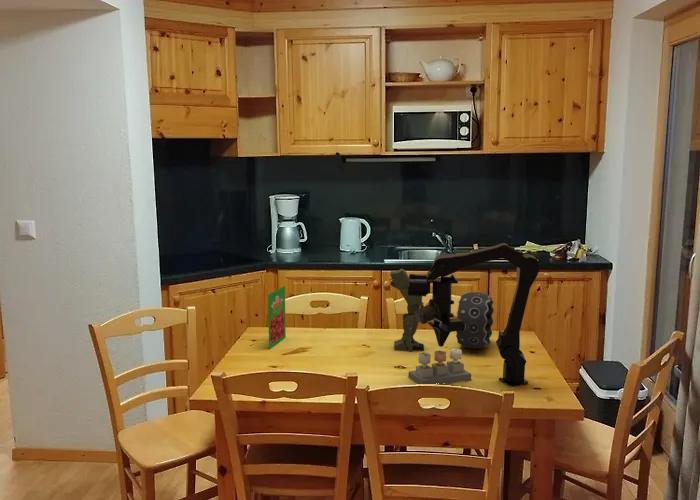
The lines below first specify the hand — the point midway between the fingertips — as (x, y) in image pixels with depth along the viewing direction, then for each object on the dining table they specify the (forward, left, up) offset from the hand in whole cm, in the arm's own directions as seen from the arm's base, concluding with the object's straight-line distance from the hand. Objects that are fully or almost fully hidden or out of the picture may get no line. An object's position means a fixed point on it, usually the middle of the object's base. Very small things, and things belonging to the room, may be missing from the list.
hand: (440, 346), depth 200 cm
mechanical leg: (+31, -4, -11) cm, 33 cm away
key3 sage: (0, +6, -7) cm, 9 cm away
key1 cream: (0, -5, -7) cm, 9 cm away
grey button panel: (0, 0, -10) cm, 11 cm away
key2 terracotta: (0, 0, -7) cm, 7 cm away
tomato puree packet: (+54, +37, -11) cm, 66 cm away
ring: (+23, -27, -11) cm, 37 cm away
